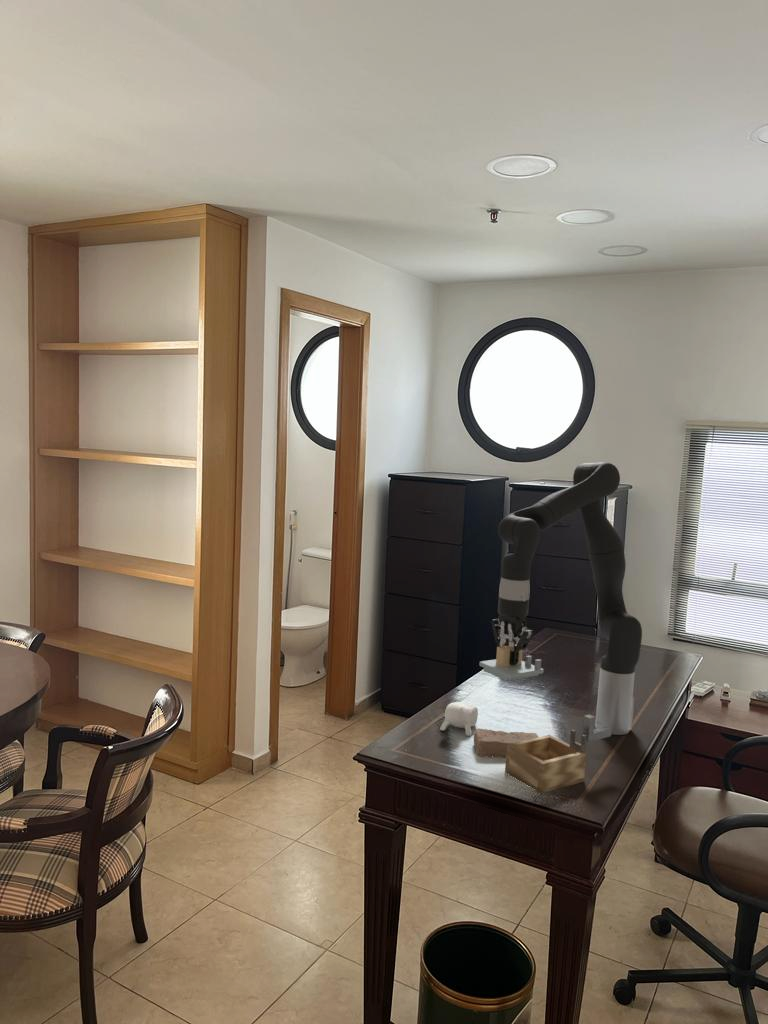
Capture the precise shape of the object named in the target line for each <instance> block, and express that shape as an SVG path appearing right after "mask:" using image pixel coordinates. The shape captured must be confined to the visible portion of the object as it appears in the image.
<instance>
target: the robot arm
mask: <svg viewBox="0 0 768 1024" xmlns="http://www.w3.org/2000/svg"><path fill="white" fill-rule="evenodd" d="M572 476H573V477H572V480H573V485H572V486H570V487H566V488H565V489H564V488H563V489H561V490H557V491H555V492H553V493H551V494H549V495H547V496H545V497H544V498H542V499H541V500H539V501H537V502H536V503H534V504H532V505H531V506H528V507H525V508H522V509H519V510H516V511H514V512H511V513H509V514H508V515H505V517H504V518H503V519H501V521H500V522H499V524H498V528H497V534H498V536H499V539H501V541H503V542H504V543H507V544H510V545H515V546H516V547H515V549H514V552H513V553H507V554H505V555H504V556H503V557H502V560H501V561H502V562H501V574H500V576H501V577H500V581H499V586H498V587H499V591H498V603H497V605H498V606H497V613H498V614H499V616H498V618H495V619H491V620H490V624H491V627H492V632H493V636H494V639H495V640H494V641H495V642H496V643H498V644H499V647H501V646H508V645H511V651H510V660H509V664H510V665H517V663H518V661H519V651H520V650H522V651H524V650H526V649H527V648H528V645H529V644H530V641H531V639H532V637H533V635H534V630H533V629H529V628H528V627H527V623H526V617H527V616H528V615H529V606H530V605H529V604H530V603H529V602H530V592H531V586H530V583H531V582H530V578H531V564H532V560H533V558H534V556H535V552H536V549H537V547H538V544H539V541H540V535H541V532H542V531H545V530H548V529H549V528H551V527H553V526H554V525H555V524H557V523H558V522H560V521H562V520H563V519H564V518H566V517H568V516H569V515H571V514H572V513H574V512H576V511H578V510H579V511H580V514H581V518H582V523H583V527H584V532H585V536H586V537H585V538H586V543H587V549H588V557H589V562H590V563H589V564H590V567H591V571H592V577H593V583H594V588H595V592H596V598H597V599H596V600H597V609H598V625H599V626H598V627H599V630H600V633H601V635H602V636H603V638H604V639H606V640H607V641H608V645H607V652H606V654H605V655H603V656H602V657H601V658H600V664H599V665H600V667H599V679H598V690H597V699H596V701H597V702H596V711H595V713H596V714H595V727H594V728H595V729H597V728H602V727H608V728H610V729H612V730H611V735H615V736H622V735H627V734H629V733H630V731H631V730H632V728H633V727H632V726H633V717H634V716H633V715H634V704H635V697H634V696H633V695H634V684H635V683H634V682H635V673H636V672H635V671H636V666H637V665H638V662H639V659H640V655H641V646H642V639H643V637H642V636H643V629H642V625H641V622H640V620H639V619H637V618H636V617H635V616H633V615H631V614H630V613H628V612H627V611H628V610H627V608H626V605H625V604H626V603H625V599H624V596H623V595H624V594H623V584H624V579H625V574H626V557H625V550H624V545H623V540H622V538H621V536H620V534H619V533H618V531H617V530H616V529H615V527H614V526H613V524H612V523H611V522H610V521H609V518H608V517H607V516H606V514H605V512H604V510H603V507H602V503H601V499H603V498H605V497H609V496H611V495H613V494H614V493H615V492H616V491H617V489H619V486H620V482H621V477H620V476H621V475H620V471H619V469H618V468H617V466H616V465H615V464H613V463H610V462H607V461H600V462H584V463H579V464H578V465H577V466H576V467H575V469H574V471H573V475H572ZM540 531H541V532H540ZM515 644H516V646H515Z"/></svg>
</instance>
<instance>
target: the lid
mask: <svg viewBox="0 0 768 1024" xmlns="http://www.w3.org/2000/svg"><path fill="white" fill-rule="evenodd" d="M515 646H516V643H515ZM510 651H511V644H510V645H508V646H497V647H496V658H495V659H490V660H489V659H488V660H482V661H479V663H478V665H479V667H481V668H483V672H485V673H487V674H490V675H492V676H494V677H497V678H499V679H501V680H504V681H505V682H507V681H508V682H509V681H513V680H519V679H526V678H532V677H537V676H539V674H541V675H542V674H544V669H545V668H542V659H540V658H539V659H535V660H534V664H532V660H533V656H532V655H526V656H525V660H523V650H520V651H519V661H518V663H517V665H510V664H509V660H510Z"/></svg>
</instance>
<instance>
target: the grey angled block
mask: <svg viewBox="0 0 768 1024" xmlns="http://www.w3.org/2000/svg"><path fill="white" fill-rule="evenodd" d="M583 717H584V718H583V725H582V735H586V736H587V738H586V743H587V742H589V743H590V742H594V741H597V740H602V739H606V738H610V737H612V734H611V730H612V729H610V728H608V727H602V728H597V729H596V727H595V721H596V716H594V715H592V714H586V715H583Z"/></svg>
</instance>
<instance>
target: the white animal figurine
mask: <svg viewBox="0 0 768 1024" xmlns="http://www.w3.org/2000/svg"><path fill="white" fill-rule="evenodd" d="M478 710H479V709H478V707H476V706H473V704H470V703H468V702H465V701H464V702H463V701H455V702H450V704H449V703H448V704H447V705H446V708H445V711H444V721H443V723H442V724H441V725H440V728H439V730H440V731H443V732H444V731H446V730H447V728H448V727H449V726H450V725H452V726H453V727H454V728H455V727H456V728H459V729H464V730H465V735H466V736H467V737H472V734H473V733H472V732H473V731H472V727H475V726H476V725H477V721H478V716H479V711H478Z"/></svg>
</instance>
